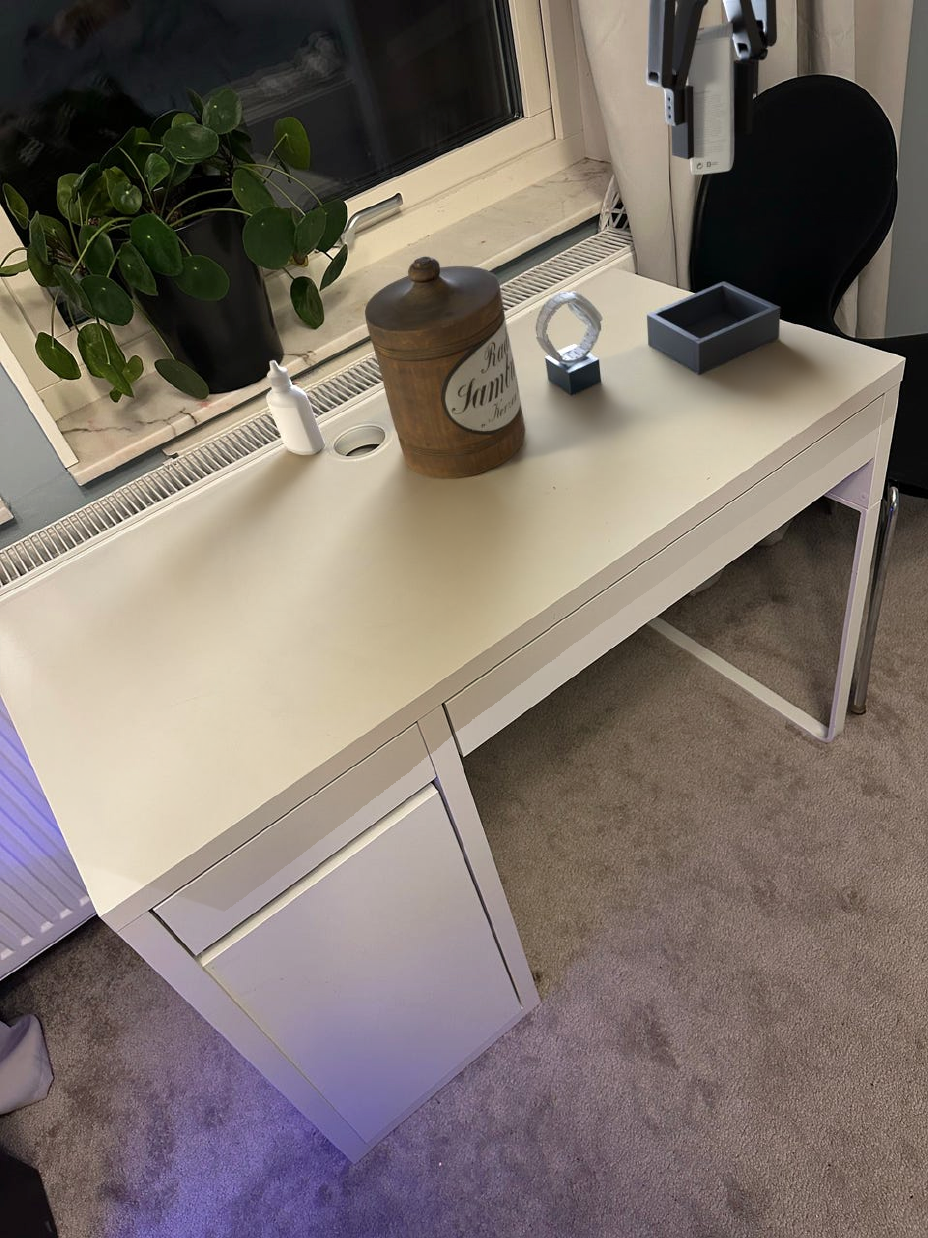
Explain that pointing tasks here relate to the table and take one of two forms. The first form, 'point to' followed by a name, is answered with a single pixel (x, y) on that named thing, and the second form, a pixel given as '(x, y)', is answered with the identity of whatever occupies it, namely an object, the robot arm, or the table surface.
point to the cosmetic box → (713, 99)
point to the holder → (713, 327)
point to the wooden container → (447, 368)
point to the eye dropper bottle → (293, 413)
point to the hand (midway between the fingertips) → (712, 143)
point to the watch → (575, 362)
